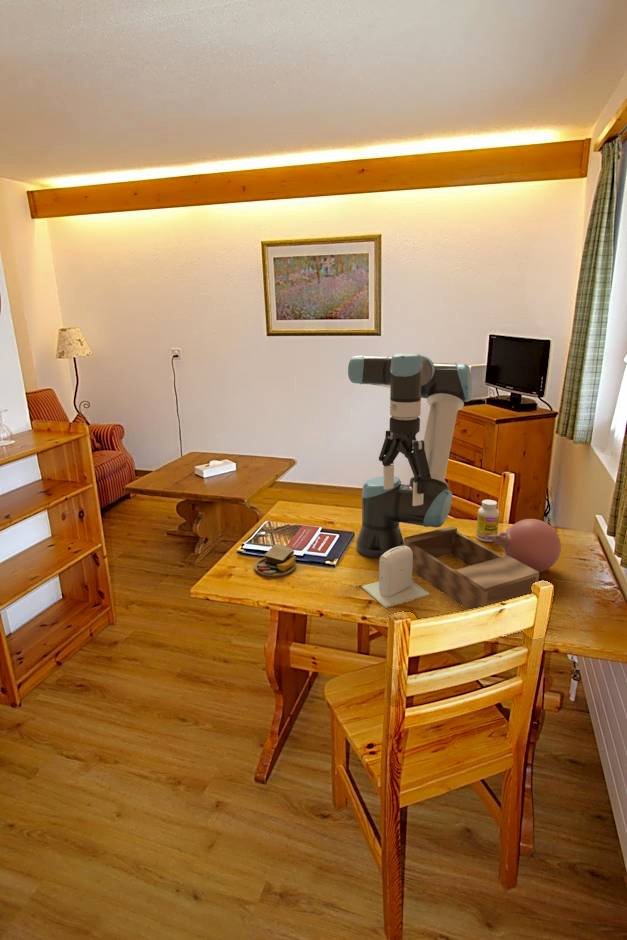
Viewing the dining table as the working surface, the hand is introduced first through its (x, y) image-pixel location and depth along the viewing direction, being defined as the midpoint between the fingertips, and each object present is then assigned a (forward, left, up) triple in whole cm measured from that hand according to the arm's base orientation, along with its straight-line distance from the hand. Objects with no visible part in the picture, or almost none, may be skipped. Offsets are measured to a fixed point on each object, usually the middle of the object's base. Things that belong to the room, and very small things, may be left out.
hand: (402, 496), depth 146 cm
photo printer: (+1, -2, -27) cm, 27 cm away
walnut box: (+6, +18, -27) cm, 33 cm away
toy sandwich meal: (-29, -25, -28) cm, 47 cm away
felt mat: (+1, -2, -27) cm, 27 cm away
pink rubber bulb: (+7, +38, -27) cm, 47 cm away
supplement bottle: (-14, +44, -27) cm, 54 cm away
